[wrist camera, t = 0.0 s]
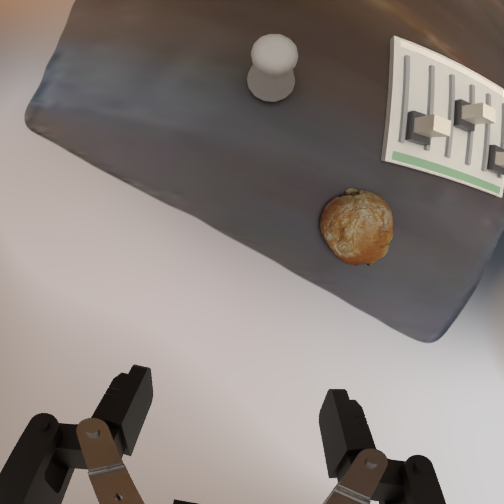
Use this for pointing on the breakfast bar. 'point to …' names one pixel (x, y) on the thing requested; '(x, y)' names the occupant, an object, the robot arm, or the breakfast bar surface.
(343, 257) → the bread roll
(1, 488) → the robot arm
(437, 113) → the panel
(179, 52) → the breakfast bar surface
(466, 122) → the breaker
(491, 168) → the breaker
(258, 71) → the salt shaker
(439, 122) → the breaker
